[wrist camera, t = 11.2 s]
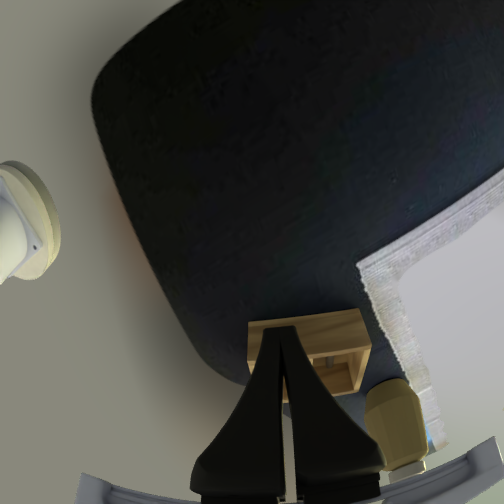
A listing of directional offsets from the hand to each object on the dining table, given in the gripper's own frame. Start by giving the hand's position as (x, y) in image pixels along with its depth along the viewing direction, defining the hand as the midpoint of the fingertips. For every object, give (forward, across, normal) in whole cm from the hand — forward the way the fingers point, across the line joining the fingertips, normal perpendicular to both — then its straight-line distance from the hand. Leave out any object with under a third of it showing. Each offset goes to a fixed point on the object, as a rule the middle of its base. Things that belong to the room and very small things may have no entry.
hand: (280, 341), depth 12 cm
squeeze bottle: (+9, -14, +26) cm, 31 cm away
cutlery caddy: (+9, -2, +12) cm, 15 cm away
